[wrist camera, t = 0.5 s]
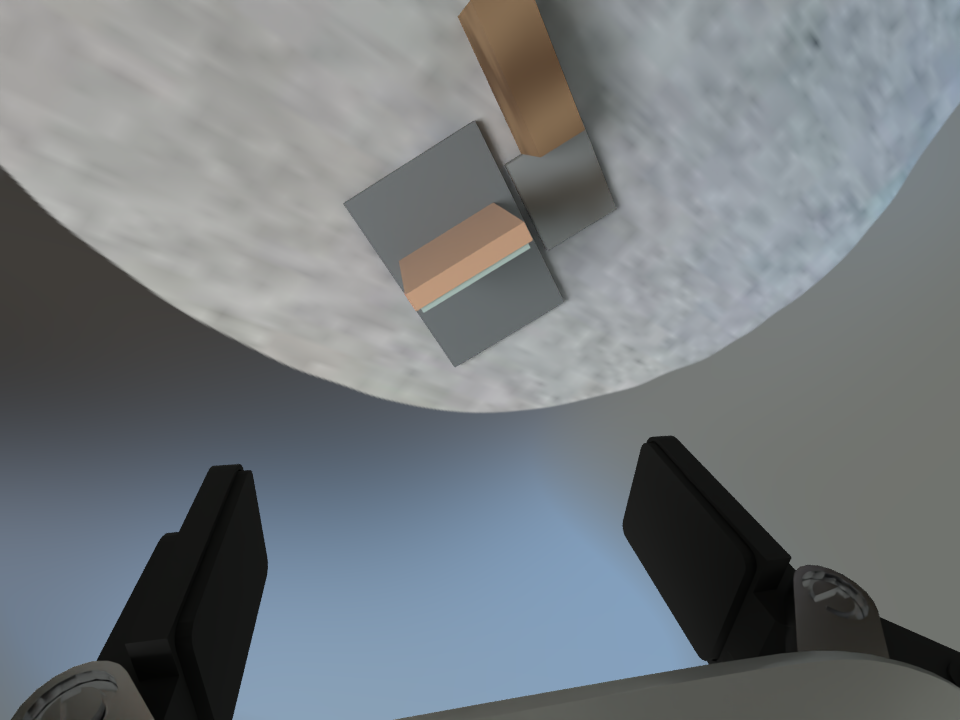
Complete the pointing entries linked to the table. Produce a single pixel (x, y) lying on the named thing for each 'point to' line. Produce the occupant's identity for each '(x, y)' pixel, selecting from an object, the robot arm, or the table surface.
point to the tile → (462, 256)
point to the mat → (436, 209)
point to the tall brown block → (538, 119)
